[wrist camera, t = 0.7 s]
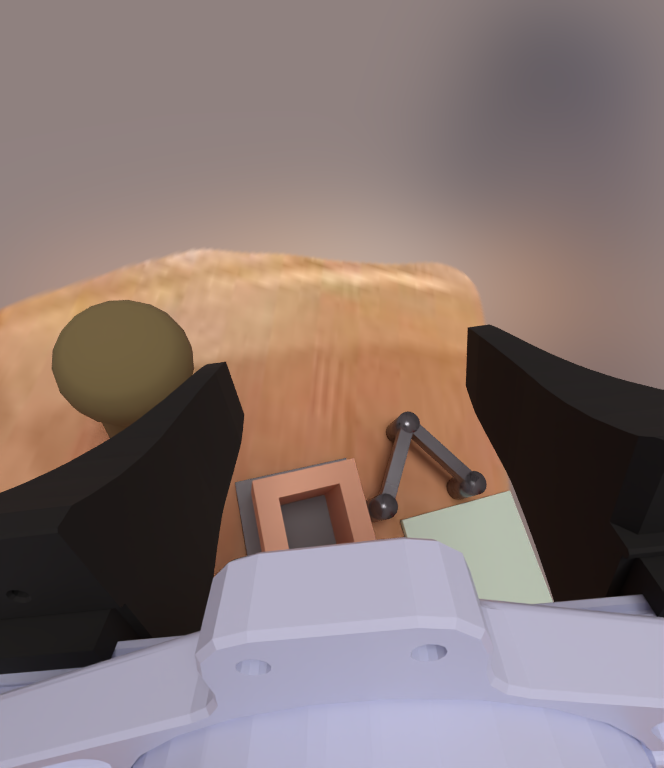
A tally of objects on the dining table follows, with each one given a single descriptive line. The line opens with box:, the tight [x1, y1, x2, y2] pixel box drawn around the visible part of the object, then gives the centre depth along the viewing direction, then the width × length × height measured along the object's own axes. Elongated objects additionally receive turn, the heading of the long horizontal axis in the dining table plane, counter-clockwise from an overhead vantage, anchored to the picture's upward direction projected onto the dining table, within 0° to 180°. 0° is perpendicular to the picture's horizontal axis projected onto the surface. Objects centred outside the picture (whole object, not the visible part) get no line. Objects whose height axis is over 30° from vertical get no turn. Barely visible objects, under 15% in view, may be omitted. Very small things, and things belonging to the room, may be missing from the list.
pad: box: [400, 491, 553, 604], centre depth 26 cm, size 8×8×1 cm
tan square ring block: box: [251, 458, 376, 552], centre depth 22 cm, size 5×5×4 cm
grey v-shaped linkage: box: [366, 412, 486, 522], centre depth 26 cm, size 6×7×2 cm
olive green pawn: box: [52, 300, 194, 438], centre depth 20 cm, size 6×6×11 cm
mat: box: [235, 458, 346, 556], centre depth 25 cm, size 7×7×1 cm
